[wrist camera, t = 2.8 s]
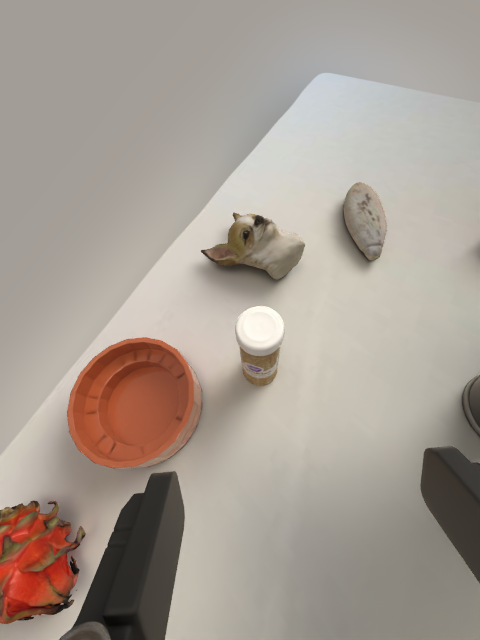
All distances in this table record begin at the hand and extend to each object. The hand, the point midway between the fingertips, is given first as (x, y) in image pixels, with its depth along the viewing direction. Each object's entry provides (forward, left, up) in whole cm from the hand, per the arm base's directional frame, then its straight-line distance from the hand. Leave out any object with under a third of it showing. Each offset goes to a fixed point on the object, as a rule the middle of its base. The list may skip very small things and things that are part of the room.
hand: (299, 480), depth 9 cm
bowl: (+7, -16, -27) cm, 32 cm away
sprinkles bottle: (-7, -10, -27) cm, 29 cm away
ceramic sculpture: (-19, -24, -27) cm, 40 cm away
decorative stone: (-36, -17, -27) cm, 48 cm away
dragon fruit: (+23, -10, -27) cm, 37 cm away
